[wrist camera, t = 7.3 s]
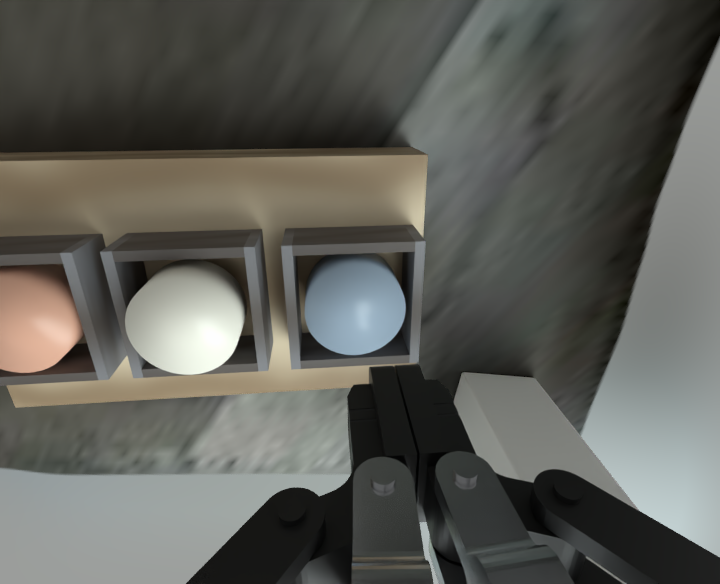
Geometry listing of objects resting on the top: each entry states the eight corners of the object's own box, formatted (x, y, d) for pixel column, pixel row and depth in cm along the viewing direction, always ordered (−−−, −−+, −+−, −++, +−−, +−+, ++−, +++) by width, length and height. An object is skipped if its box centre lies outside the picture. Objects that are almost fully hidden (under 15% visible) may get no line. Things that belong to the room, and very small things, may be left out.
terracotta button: (-28, 259, 21) (-70, 279, 19) (80, 256, 21) (51, 275, 19) (7, 348, 23) (-27, 375, 21) (105, 343, 23) (82, 369, 21)
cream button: (135, 261, 21) (113, 280, 18) (241, 257, 21) (231, 276, 19) (156, 349, 23) (138, 377, 20) (252, 345, 23) (245, 371, 21)
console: (-23, 153, 23) (-151, 172, 17) (412, 147, 25) (443, 162, 19) (53, 369, 29) (-21, 444, 23) (403, 350, 31) (425, 415, 25)
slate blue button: (303, 249, 22) (301, 266, 20) (398, 246, 23) (407, 262, 20) (308, 333, 24) (307, 357, 22) (395, 329, 25) (403, 352, 22)
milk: (461, 370, 32) (698, 809, 12) (535, 376, 33) (872, 796, 13) (443, 433, 35) (616, 890, 14) (512, 438, 35) (768, 874, 15)
